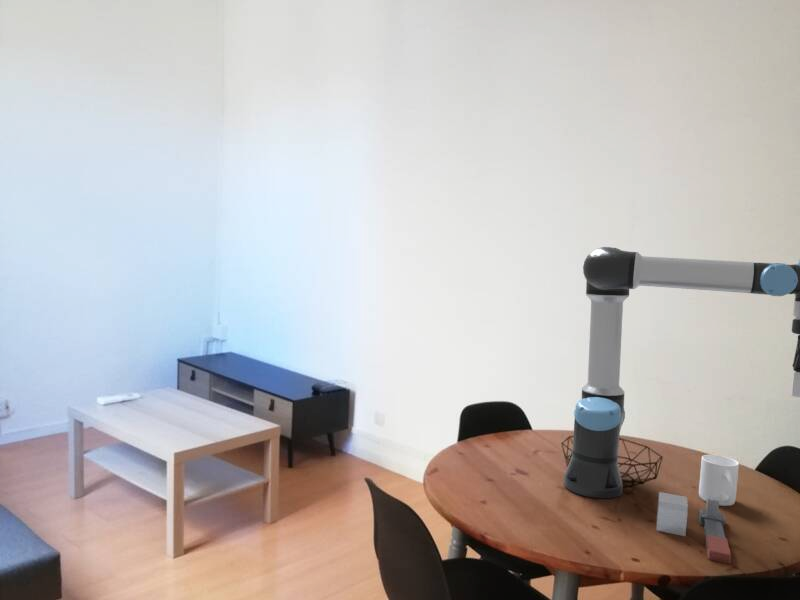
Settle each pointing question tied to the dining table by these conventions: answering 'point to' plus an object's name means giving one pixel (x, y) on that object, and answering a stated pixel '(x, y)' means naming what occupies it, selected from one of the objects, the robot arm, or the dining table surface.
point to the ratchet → (714, 531)
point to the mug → (718, 479)
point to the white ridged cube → (672, 514)
